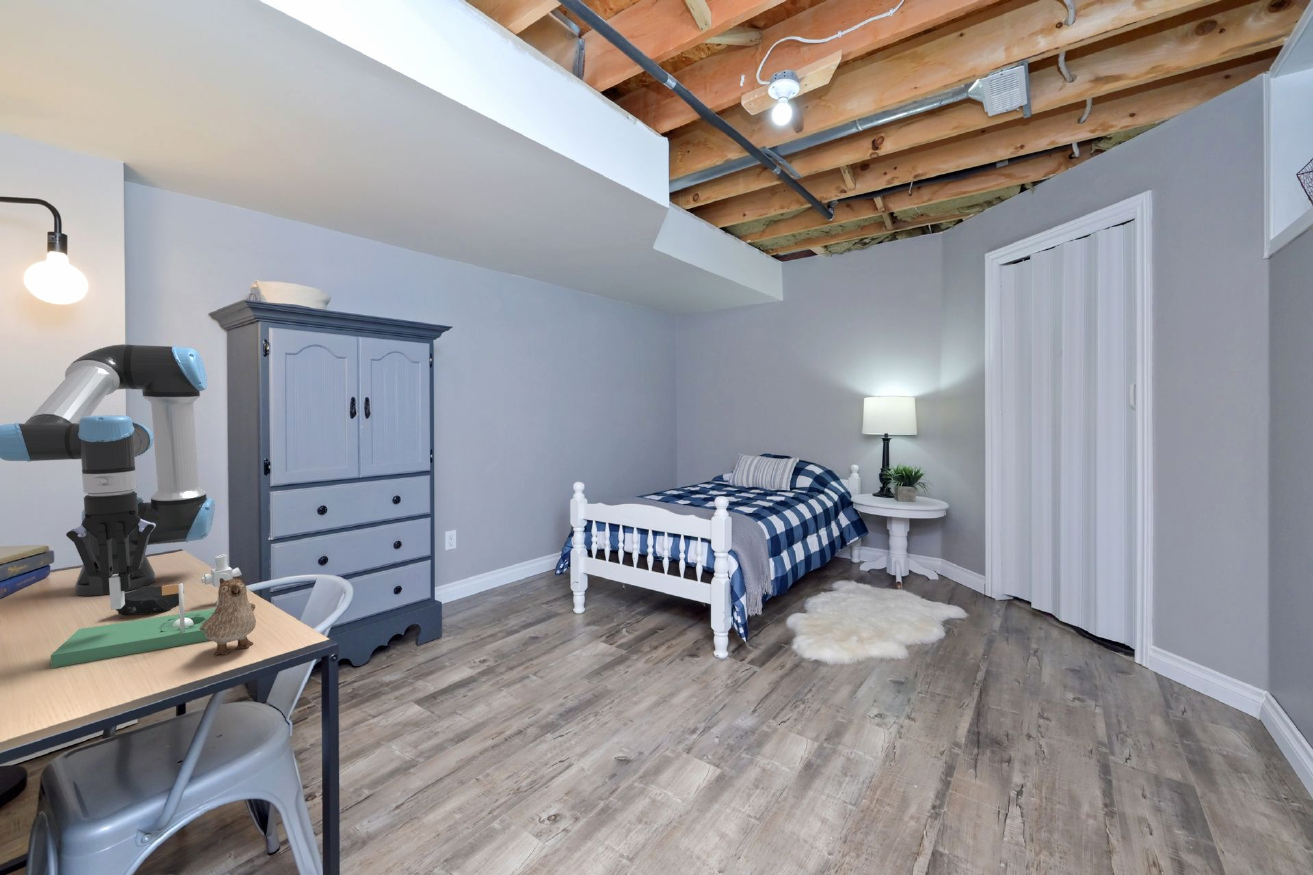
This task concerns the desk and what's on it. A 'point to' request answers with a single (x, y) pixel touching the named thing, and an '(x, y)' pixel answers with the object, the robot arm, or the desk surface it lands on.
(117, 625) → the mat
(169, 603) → the rock
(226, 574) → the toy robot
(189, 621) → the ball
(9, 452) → the robot arm
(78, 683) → the desk surface
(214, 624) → the figurine
